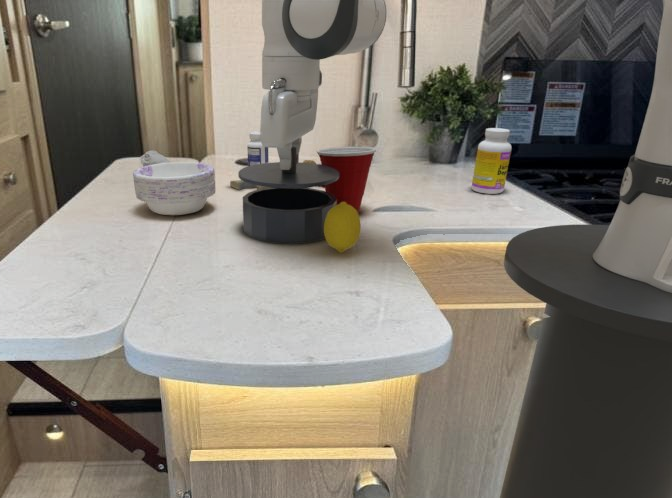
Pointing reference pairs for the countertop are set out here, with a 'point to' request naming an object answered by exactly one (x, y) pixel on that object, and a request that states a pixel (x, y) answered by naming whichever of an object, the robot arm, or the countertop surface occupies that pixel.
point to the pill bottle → (256, 150)
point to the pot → (286, 214)
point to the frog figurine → (152, 158)
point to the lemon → (342, 227)
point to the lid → (289, 174)
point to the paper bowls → (175, 186)
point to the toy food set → (242, 184)
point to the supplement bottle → (492, 162)
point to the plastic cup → (348, 172)
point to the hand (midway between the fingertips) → (289, 166)
